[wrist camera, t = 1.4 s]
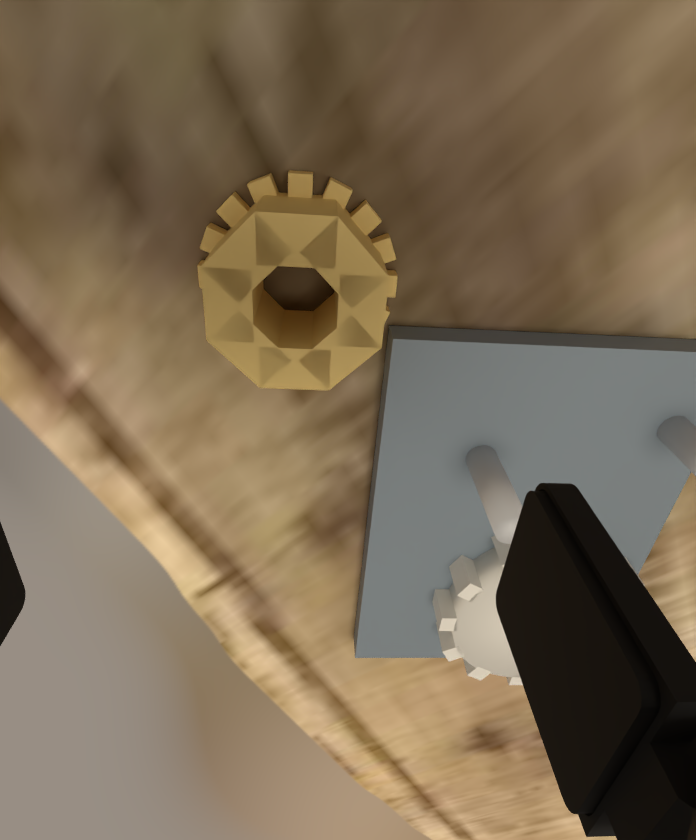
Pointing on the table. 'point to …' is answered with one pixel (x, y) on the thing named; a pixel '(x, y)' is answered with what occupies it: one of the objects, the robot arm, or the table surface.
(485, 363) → the gear board
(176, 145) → the table surface
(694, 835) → the robot arm
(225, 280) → the gear
